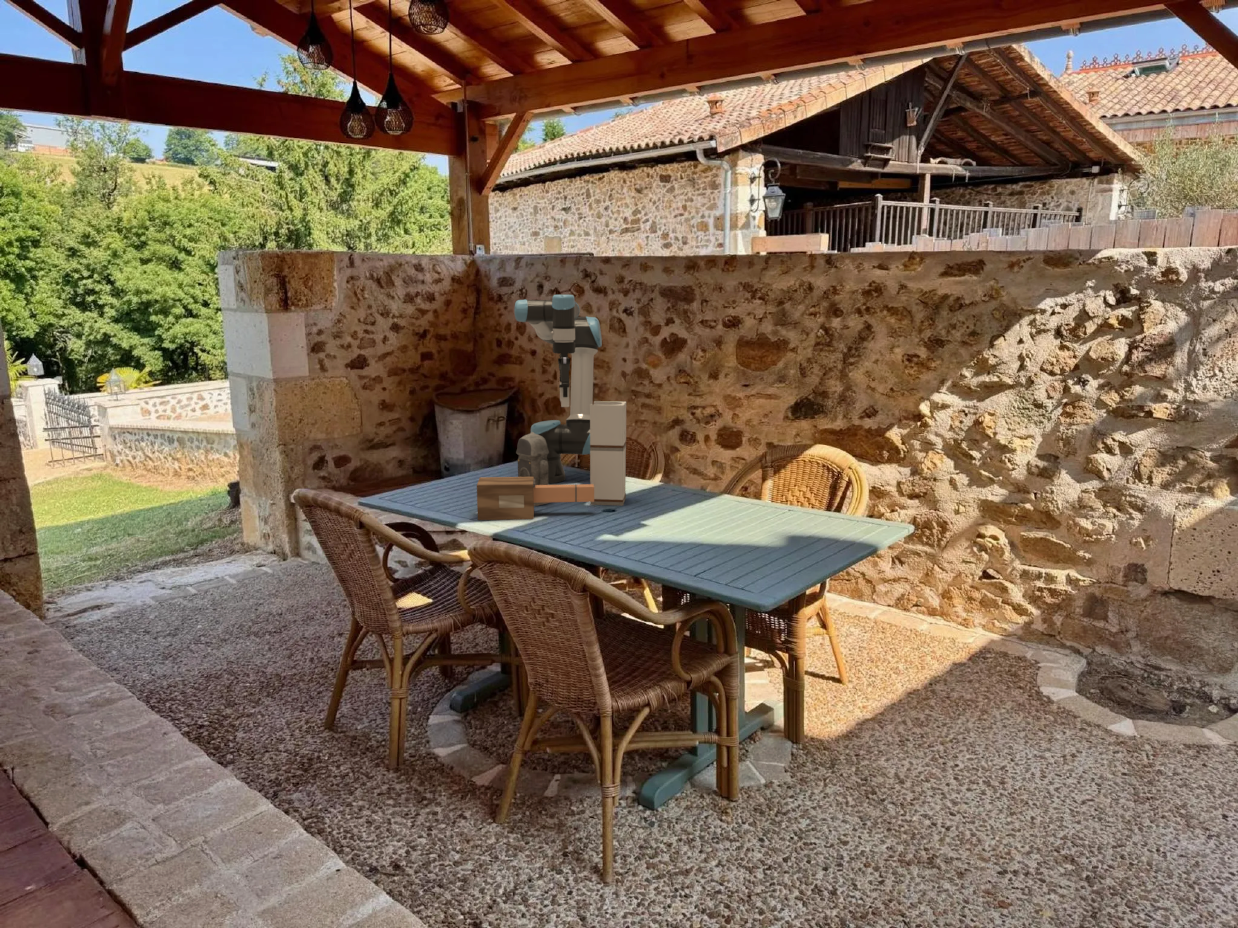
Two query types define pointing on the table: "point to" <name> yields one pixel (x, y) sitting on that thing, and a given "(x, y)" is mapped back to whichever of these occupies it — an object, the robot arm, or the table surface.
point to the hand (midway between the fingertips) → (564, 404)
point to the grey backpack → (533, 459)
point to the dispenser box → (505, 498)
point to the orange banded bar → (563, 493)
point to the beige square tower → (608, 452)
